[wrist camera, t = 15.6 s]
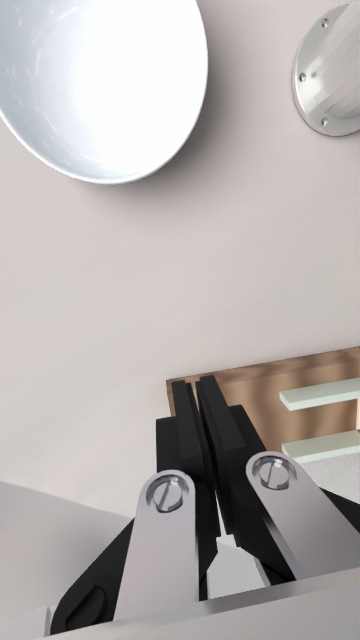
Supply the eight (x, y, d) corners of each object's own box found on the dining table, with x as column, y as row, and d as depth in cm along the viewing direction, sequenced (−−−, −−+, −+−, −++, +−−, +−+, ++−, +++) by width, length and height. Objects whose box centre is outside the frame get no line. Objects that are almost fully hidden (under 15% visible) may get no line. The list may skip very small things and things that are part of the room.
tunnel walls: (358, 377, 41) (374, 387, 38) (355, 436, 44) (369, 449, 41) (279, 391, 40) (289, 403, 37) (282, 450, 43) (291, 465, 40)
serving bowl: (195, -20, 30) (207, -93, 23) (199, 192, 36) (209, 181, 29) (-8, -27, 28) (-57, -107, 22) (31, 197, 34) (2, 186, 28)
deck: (453, 330, 45) (482, 338, 41) (441, 414, 50) (465, 429, 46) (165, 380, 43) (167, 394, 39) (180, 464, 47) (183, 484, 43)
